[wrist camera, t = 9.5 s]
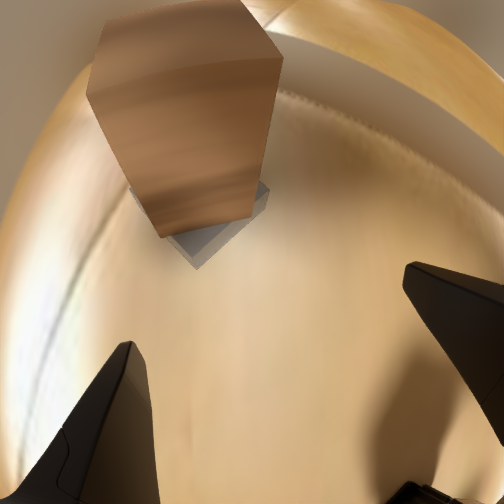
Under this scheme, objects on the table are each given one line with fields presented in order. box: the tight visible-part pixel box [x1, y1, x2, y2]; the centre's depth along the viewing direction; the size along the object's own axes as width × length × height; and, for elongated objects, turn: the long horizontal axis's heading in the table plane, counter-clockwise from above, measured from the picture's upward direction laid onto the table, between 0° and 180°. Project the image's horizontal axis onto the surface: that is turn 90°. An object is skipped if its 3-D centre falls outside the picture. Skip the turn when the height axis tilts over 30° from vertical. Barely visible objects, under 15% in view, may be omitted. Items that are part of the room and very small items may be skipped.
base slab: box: [129, 181, 269, 270], centre depth 20 cm, size 7×7×3 cm
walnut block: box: [86, 0, 283, 238], centre depth 13 cm, size 6×6×12 cm
